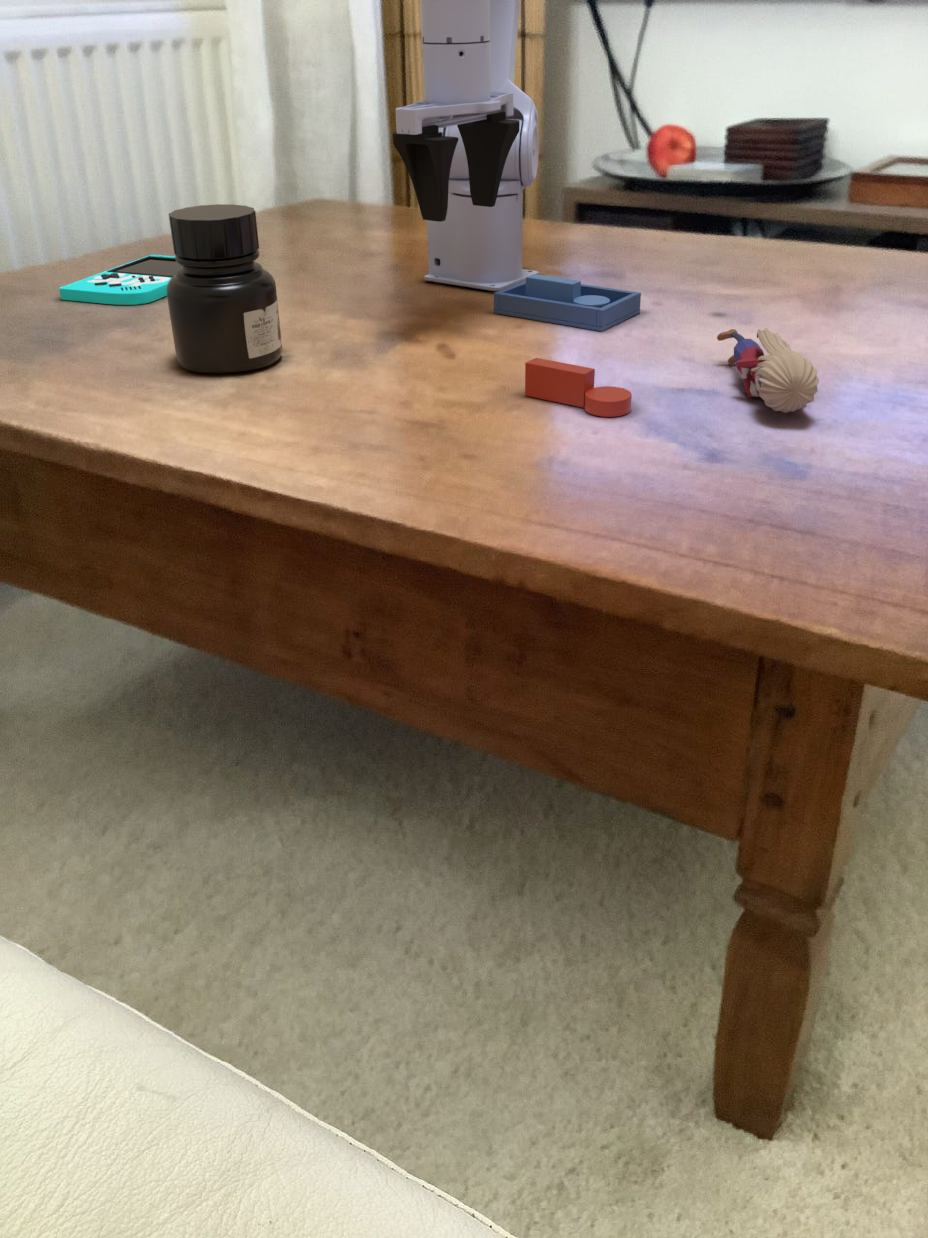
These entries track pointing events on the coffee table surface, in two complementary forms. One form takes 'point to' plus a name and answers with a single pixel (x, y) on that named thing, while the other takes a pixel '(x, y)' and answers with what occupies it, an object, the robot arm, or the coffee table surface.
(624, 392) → the red block with disc
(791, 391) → the figurine
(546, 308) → the blue tray
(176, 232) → the ink bottle
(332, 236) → the coffee table surface
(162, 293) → the handheld game console
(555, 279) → the blue block with disc
